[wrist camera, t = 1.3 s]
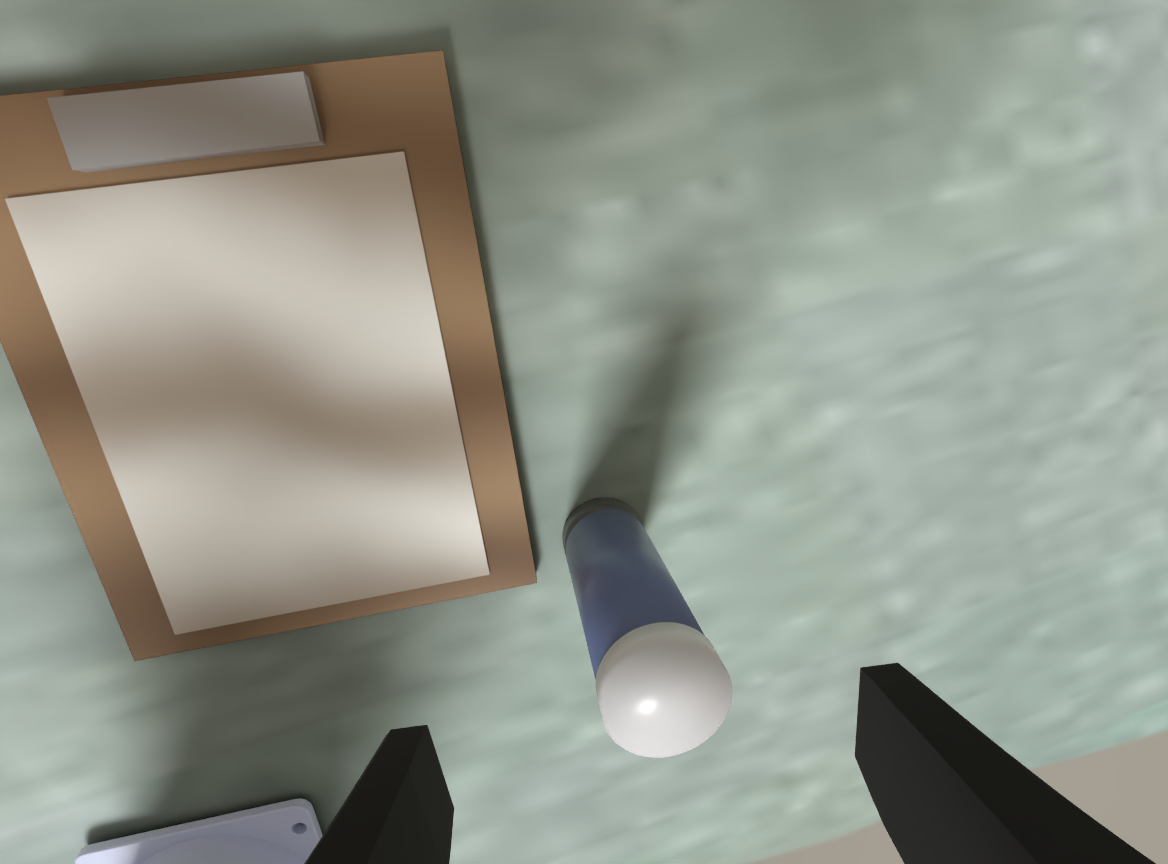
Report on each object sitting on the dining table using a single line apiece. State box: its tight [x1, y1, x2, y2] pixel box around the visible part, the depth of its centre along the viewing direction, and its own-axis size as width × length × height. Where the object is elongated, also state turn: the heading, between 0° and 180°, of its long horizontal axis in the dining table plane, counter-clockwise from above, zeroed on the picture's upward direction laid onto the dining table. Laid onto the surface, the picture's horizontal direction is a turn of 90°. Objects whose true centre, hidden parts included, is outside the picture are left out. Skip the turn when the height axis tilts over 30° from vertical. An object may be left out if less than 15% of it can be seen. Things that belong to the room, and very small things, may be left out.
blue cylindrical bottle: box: [562, 498, 732, 757], centre depth 17 cm, size 3×3×8 cm
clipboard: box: [0, 50, 537, 661], centre depth 17 cm, size 16×13×1 cm
